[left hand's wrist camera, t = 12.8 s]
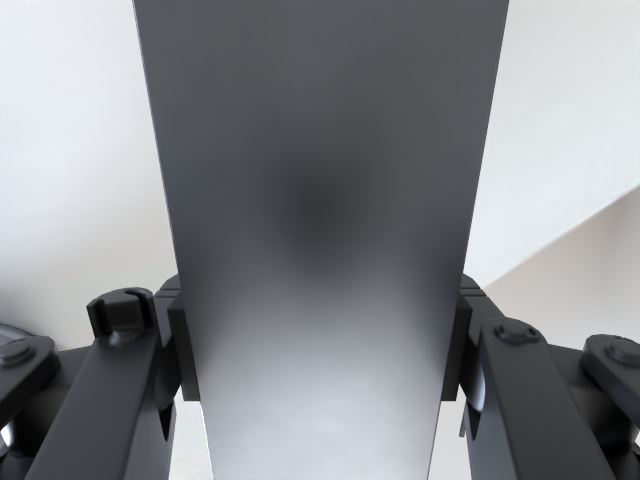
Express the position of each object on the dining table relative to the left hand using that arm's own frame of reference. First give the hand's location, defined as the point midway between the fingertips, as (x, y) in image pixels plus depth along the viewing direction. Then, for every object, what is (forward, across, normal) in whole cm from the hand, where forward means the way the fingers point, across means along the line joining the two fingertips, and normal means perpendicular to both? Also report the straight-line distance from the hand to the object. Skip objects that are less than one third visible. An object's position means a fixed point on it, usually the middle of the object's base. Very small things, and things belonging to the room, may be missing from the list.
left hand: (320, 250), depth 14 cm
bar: (+1, 0, -10) cm, 10 cm away
